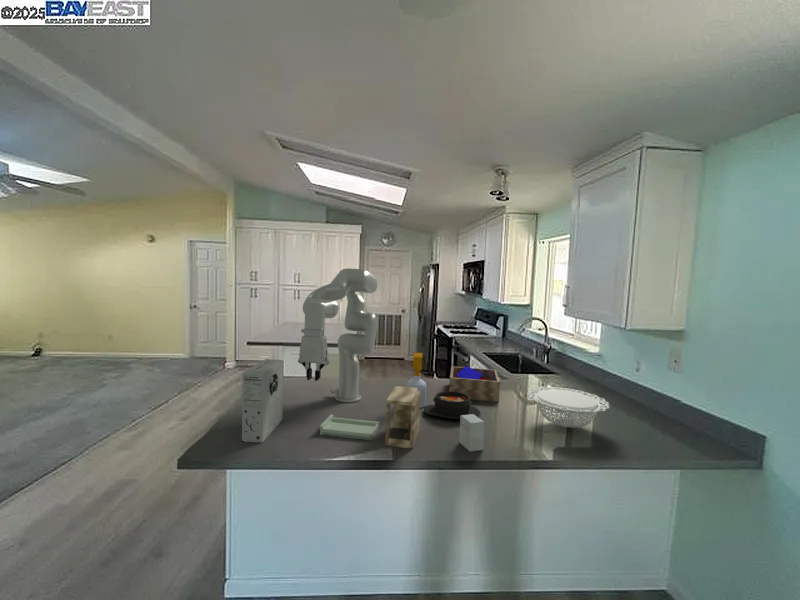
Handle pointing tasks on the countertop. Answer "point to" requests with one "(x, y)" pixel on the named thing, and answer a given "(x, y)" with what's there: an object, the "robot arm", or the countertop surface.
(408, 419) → the shelf
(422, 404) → the soap bottle
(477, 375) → the house
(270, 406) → the cereal box
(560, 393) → the colander
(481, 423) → the small box
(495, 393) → the open wooden box
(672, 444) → the countertop surface
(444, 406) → the casserole
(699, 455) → the countertop surface
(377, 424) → the tray
